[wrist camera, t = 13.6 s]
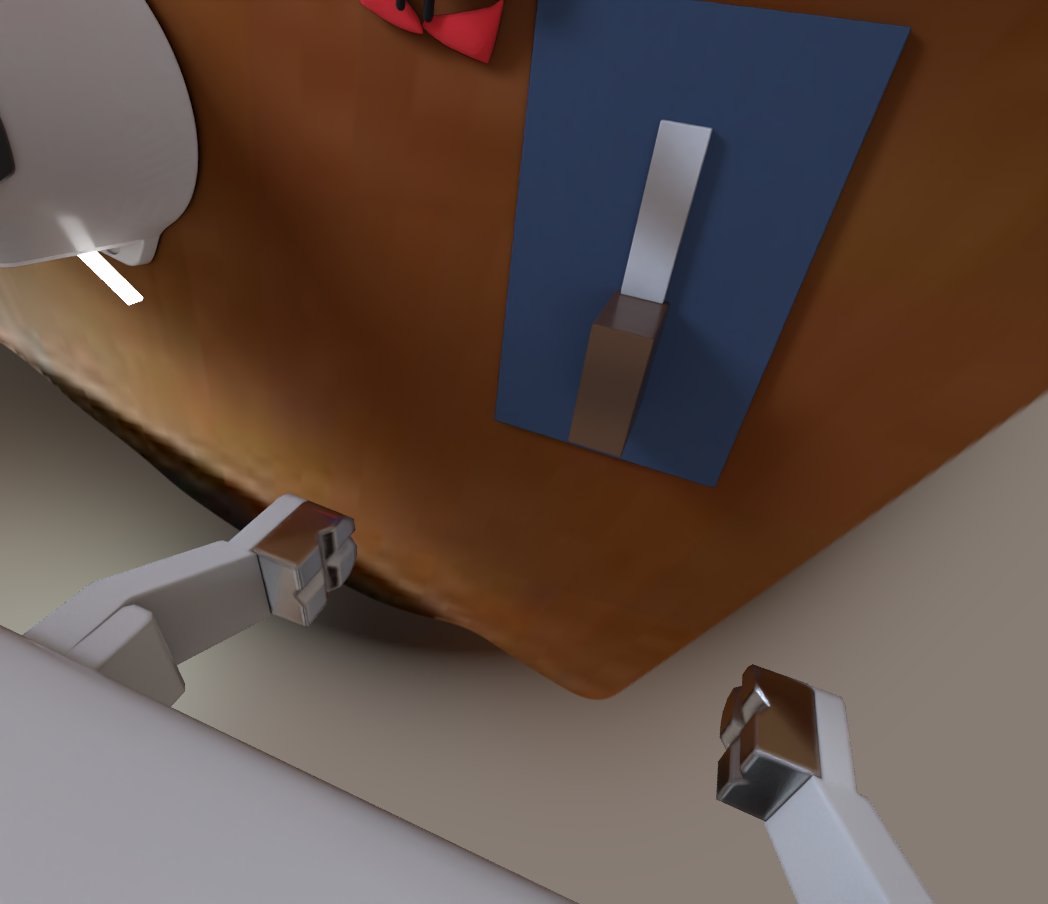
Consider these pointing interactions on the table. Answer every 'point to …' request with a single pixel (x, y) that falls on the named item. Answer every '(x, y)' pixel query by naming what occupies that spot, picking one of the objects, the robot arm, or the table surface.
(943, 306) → the table surface
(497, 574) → the table surface
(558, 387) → the desk mat
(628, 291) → the letter opener
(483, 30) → the toy figure
